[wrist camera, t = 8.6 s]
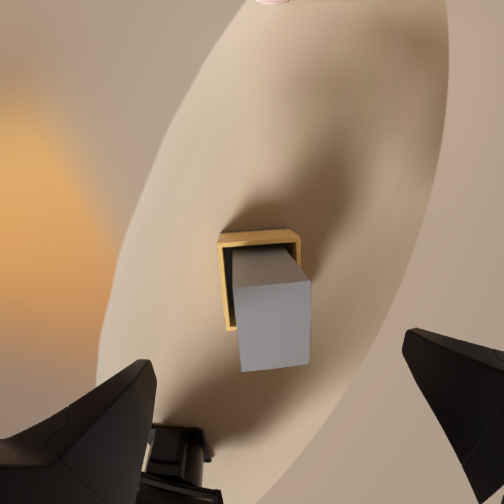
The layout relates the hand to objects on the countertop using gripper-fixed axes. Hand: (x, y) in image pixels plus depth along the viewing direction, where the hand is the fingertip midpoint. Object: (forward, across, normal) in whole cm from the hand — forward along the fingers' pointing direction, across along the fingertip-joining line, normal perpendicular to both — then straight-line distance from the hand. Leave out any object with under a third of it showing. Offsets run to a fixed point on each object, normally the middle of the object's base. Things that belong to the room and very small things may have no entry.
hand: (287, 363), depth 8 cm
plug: (+10, 0, 0) cm, 11 cm away
